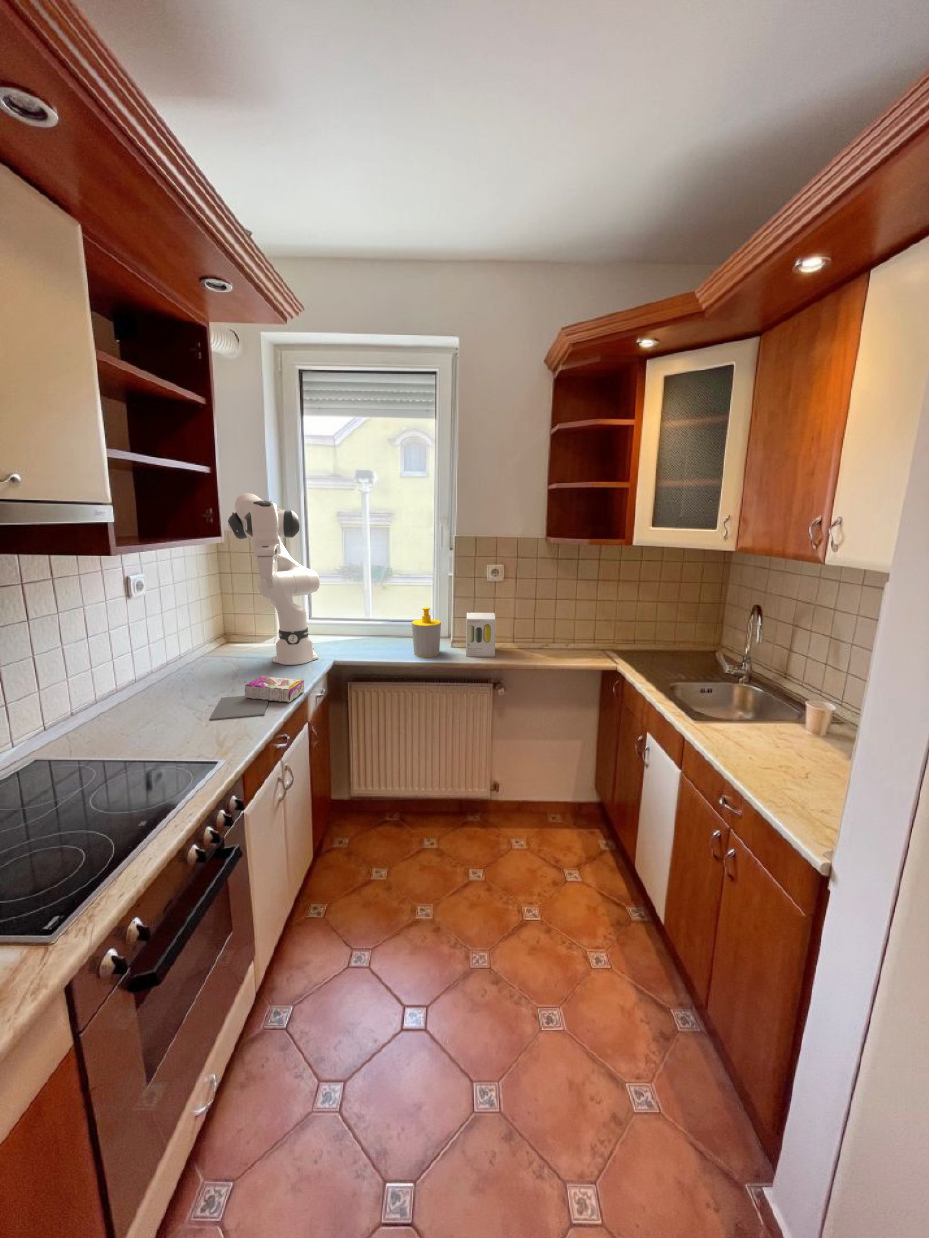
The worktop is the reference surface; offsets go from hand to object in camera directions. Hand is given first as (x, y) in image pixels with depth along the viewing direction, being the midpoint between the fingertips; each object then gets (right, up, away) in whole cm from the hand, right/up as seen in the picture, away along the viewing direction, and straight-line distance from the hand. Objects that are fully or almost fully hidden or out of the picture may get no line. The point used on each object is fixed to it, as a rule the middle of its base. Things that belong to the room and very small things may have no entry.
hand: (270, 587), depth 177 cm
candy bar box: (-6, -35, -1) cm, 35 cm away
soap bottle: (+52, -27, +51) cm, 77 cm away
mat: (-6, -40, -10) cm, 42 cm away
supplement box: (+76, -27, +53) cm, 96 cm away
